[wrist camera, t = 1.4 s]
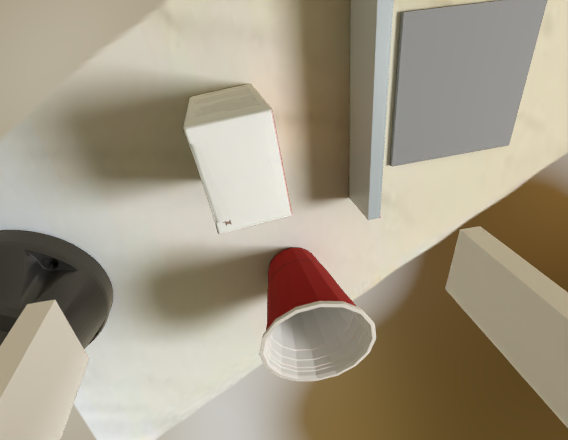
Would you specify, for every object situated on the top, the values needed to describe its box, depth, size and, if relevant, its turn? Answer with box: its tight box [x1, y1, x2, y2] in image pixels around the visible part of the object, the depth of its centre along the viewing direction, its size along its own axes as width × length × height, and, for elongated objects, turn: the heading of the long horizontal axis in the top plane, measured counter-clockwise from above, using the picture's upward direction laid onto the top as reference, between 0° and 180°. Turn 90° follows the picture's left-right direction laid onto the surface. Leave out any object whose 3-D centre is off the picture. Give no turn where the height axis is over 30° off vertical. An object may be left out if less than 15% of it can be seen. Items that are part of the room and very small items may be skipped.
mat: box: [390, 0, 547, 166], centre depth 33 cm, size 14×14×1 cm
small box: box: [183, 84, 292, 234], centre depth 26 cm, size 8×6×10 cm
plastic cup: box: [259, 248, 376, 381], centre depth 35 cm, size 11×11×12 cm
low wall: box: [349, 0, 394, 220], centre depth 30 cm, size 1×20×5 cm, turn 6°
